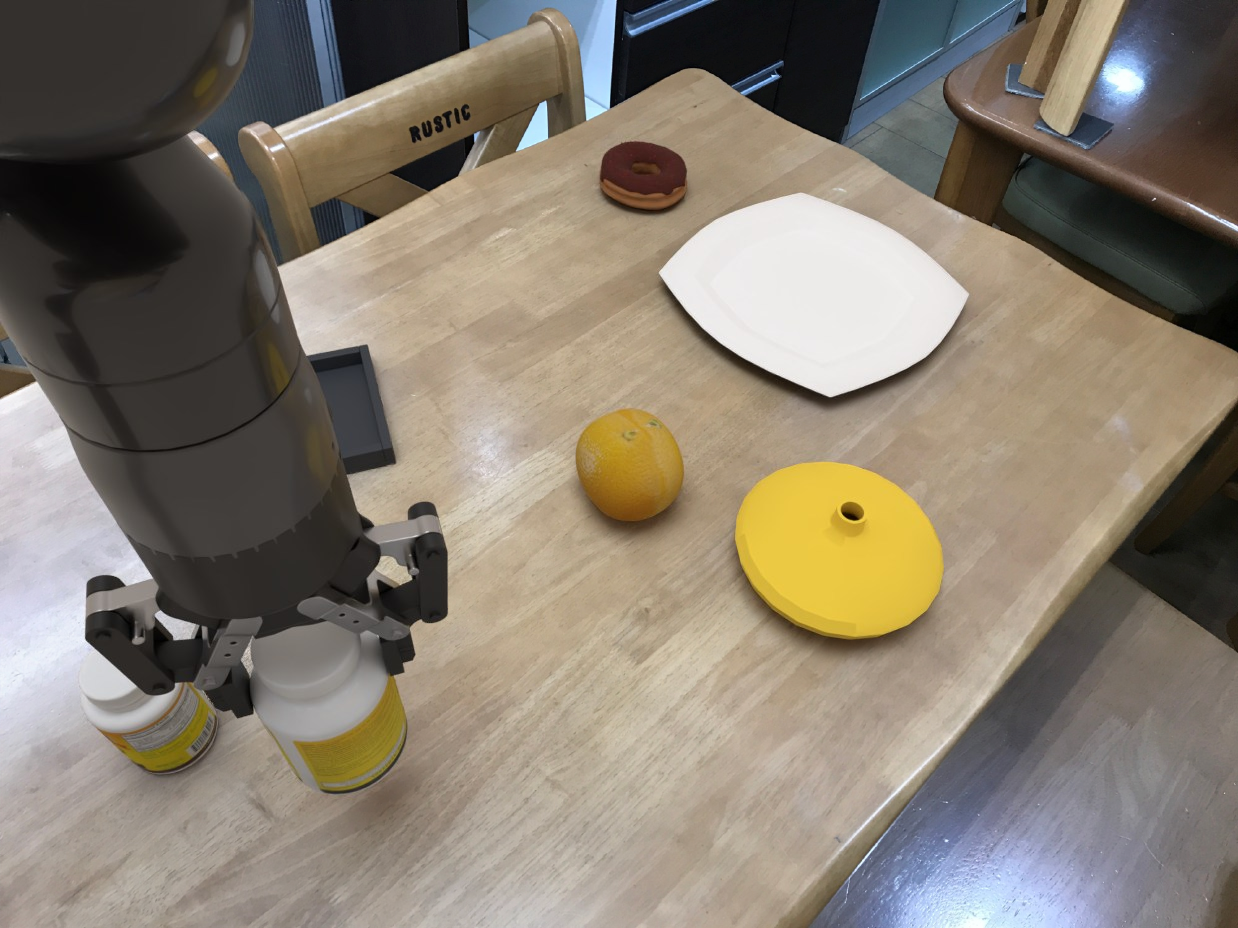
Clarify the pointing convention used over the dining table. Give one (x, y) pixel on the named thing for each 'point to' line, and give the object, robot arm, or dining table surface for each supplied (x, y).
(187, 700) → the supplement bottle
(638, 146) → the donut
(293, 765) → the pill bottle
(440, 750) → the dining table surface
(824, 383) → the plate
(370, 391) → the holder
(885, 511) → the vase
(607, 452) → the fruit
